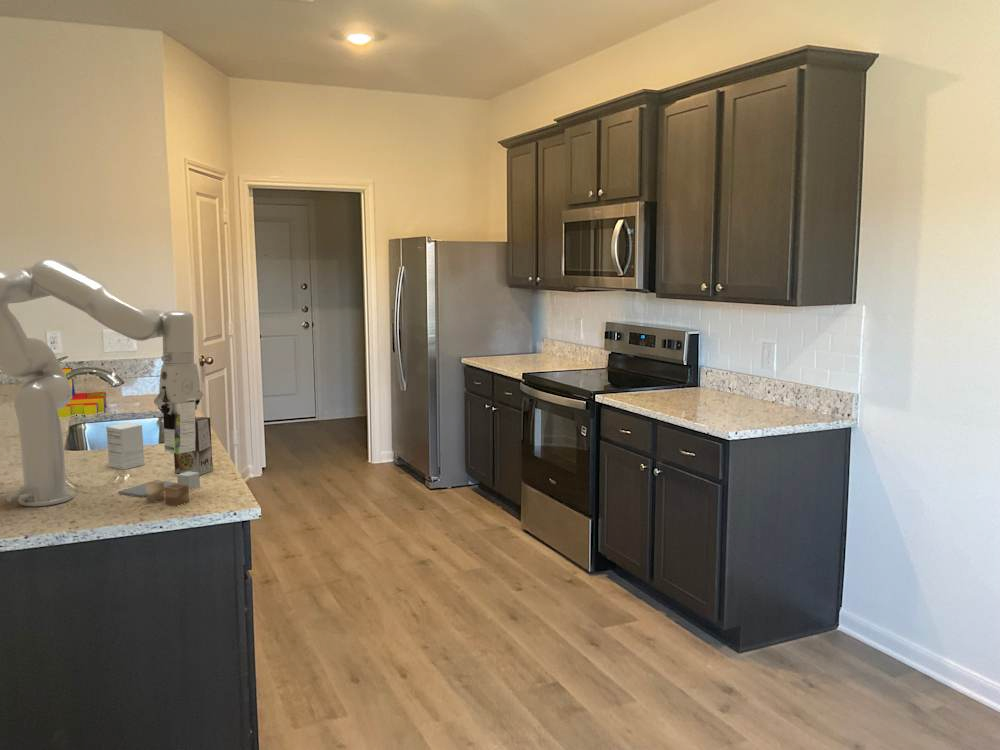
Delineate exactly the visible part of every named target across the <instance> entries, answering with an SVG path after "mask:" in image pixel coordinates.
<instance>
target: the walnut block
mask: <svg viewBox="0 0 1000 750" xmlns="http://www.w3.org/2000/svg"><path fill="white" fill-rule="evenodd" d="M189 491H190V490H189V489H188V485H182V484H174V485H171V486H168V487H165V491H164V492H165V500H164V501H165V505H166V504H169V505H168V506H172V505H175V506H174V507H179V506H178V505H180V506H182V505H185V504H187V503H186V502H188V503H190V494H189V493H190V492H189ZM184 503H185V504H184ZM181 504H182V505H181Z"/></svg>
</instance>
